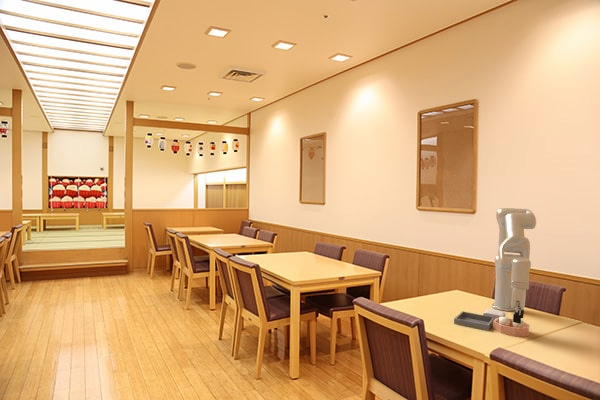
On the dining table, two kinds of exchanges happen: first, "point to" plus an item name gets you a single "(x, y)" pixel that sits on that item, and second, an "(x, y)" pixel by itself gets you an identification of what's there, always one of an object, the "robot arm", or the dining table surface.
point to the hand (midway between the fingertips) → (518, 320)
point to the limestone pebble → (504, 321)
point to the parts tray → (474, 320)
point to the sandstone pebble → (517, 325)
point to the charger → (494, 313)
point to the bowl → (511, 328)
